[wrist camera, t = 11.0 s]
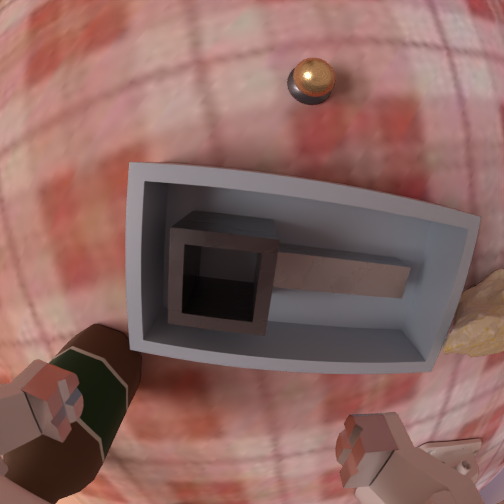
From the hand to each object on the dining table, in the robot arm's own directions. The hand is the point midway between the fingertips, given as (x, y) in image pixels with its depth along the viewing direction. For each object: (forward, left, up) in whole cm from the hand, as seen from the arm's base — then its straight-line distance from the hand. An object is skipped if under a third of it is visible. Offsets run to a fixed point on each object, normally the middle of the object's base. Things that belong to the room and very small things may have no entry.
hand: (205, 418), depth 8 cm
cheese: (-22, +3, -16) cm, 27 cm away
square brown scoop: (-4, 0, -15) cm, 16 cm away
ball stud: (-4, -13, -16) cm, 21 cm away
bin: (-5, 0, -16) cm, 17 cm away
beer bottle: (+11, +12, -16) cm, 23 cm away
